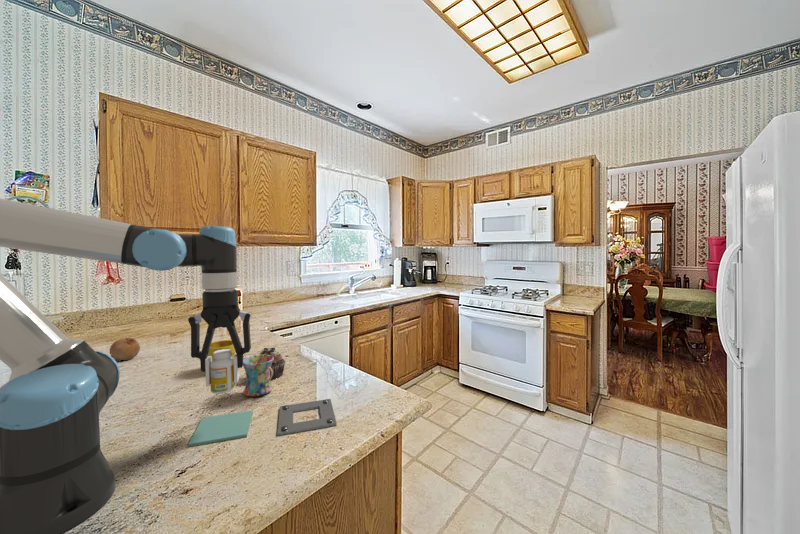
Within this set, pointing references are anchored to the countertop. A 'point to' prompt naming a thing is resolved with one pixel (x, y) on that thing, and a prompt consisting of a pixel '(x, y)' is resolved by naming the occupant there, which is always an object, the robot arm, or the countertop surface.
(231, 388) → the supplement bottle
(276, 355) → the cupcake
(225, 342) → the plant pot
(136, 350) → the brown oval lump
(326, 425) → the flange plate
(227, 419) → the mat
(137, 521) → the countertop surface
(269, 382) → the mug
